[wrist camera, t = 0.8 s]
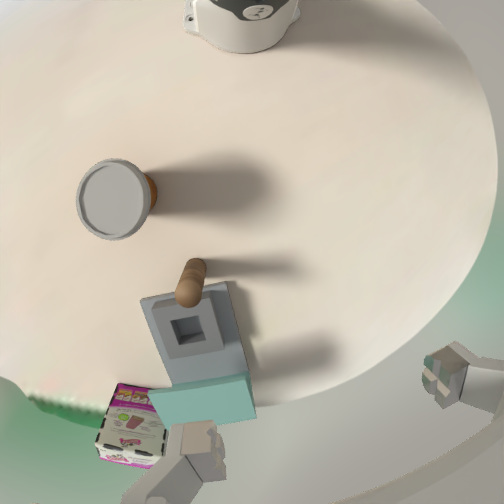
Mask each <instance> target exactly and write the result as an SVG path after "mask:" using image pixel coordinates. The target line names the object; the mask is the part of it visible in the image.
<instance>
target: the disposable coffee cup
mask: <svg viewBox="0 0 504 504" xmlns="http://www.w3.org/2000/svg"><path fill="white" fill-rule="evenodd" d="M156 199H157V189H156V185H155V183H154V182H153V180H152V179H151V178H150V177H148V176H147V175H145V174H143V173H142V172H141V171H140V170H139V168H138V167H136V166H135V165H134V164H132V163H130V162H128V161H126V160H123V159H112V158H111V159H107V160H103V161H101V162H99V163H97V164H95V165H94V166H93V167H91V168H90V169H89V171H88V172H87V173H86V174H85V175H84V177H83V179H82V180H81V182H80V184H79V187H78V189H77V195H76V207H77V212H78V215H79V218H80V220H81V222H82V223H83V225H84V226H85V227H86V228H87V229H88V230H89V231H90V232H91V233H93V234H94V235H96V236H98V237H100V238H102V239H106V240H121V239H125V238H127V237H130V236H131V235H133V234H134V233H135V232H137V231H138V230H139V229H140V227H141V226H142V225H143V223H144V222H145V220H146V218H147V216H148V213H149V211H150V210H151V209H152V207H153V206H154V204H155V202H156Z"/></svg>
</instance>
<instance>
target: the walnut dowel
mask: <svg viewBox="0 0 504 504" xmlns="http://www.w3.org/2000/svg"><path fill="white" fill-rule="evenodd" d="M205 273H206V265H205V263H204V262H203V261H202V260H201V259H198V258H193V259H190V260H189V261H188V262H187V263H186V266H185V268H184V270H183V273H182V275H181V278H180V280H179V283H178V285H177V288H176V290H175V299H176V301H177V303H178V304H179V305H181V306H182V307H185V308H193V307H195V306H197V305H198V304H199V303H200V301H201V297H202V291H203V285H204V279H205Z"/></svg>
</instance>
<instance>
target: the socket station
mask: <svg viewBox="0 0 504 504" xmlns="http://www.w3.org/2000/svg"><path fill="white" fill-rule="evenodd" d="M140 304H141V307H142V309H143V312H144V315H145V318H146V321H147V323H148V326H149V329H150V331H151V334H152V336H153V339H154V342H155V344H156V347H157V349H158V352H159V354H160V356H161V359H162V361H163V364H164V366H165V368H166V371H167V373H168V375H169V378H170V380H171V382H172V387H171V388H163V389H155V390H148V394H147V395H148V397H149V399H150V401H151V402H152V404H153V406H154V408H155V410H156V412H157V414H158V415H159V417H160V419H161V421H162V422H163V424H164V426H165V428H166V429H167V431H170V427H171V425H172V424H179V423H187V422H196V421H205V420H214V422H215V424H216V425H222V424H228V423H234V422H240V421H245V420H250V419H255V418H256V411H255V405H254V398H253V392H252V385H251V379H250V372H249V369H248V365H247V361H246V358H245V354H244V350H243V346H242V343H241V339H240V335H239V331H238V327H237V324H236V320H235V316H234V312H233V308H232V304H231V300H230V296H229V292H228V288H227V284H226V281H223V282H219V283H214V284H210V285H205V286H203V291H202V297H201V301H200V303H199V304H198V305H197V306H195V307H193V308H185V307H182V306H181V305H179V304H178V303H177V301H176V299H175V292H172V293H167V294H162V295H157V296H152V297H147V298H143V299H141V300H140Z"/></svg>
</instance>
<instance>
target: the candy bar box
mask: <svg viewBox="0 0 504 504" xmlns="http://www.w3.org/2000/svg"><path fill="white" fill-rule="evenodd" d="M148 390H154V389H148V388H141V387H135V386H129V385H124V384H119V383H118V384H117V386H116V389H115V391H114V394H113V396H112V399H111V401H110V404H109V406H108V409H107V412H106V414H105V417H104V419H103V422H102V424H101V427H100V430H99V433H98V435H97V438H96V441H95V446H96V448H97V451H98V453H99V457H100V459H103V460H107V461H111V462H115V463H120V464H124V465H129V466H134V467H140V468H145V469H150V468H151V467H152V466H153V465H154V464H155V463H156V462H157V461H158V460H159V459H160V458H161V457H165V456H166V449H167V442H168V435H169V431H167V429H166V428H165V426H164V424H163V422H162V421H161V419H160V417H159V415H158V414H157V412H156V410H155V408H154V406H153V404H152V402H151V401H150V399H149V397H148V395H147V394H148Z"/></svg>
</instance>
